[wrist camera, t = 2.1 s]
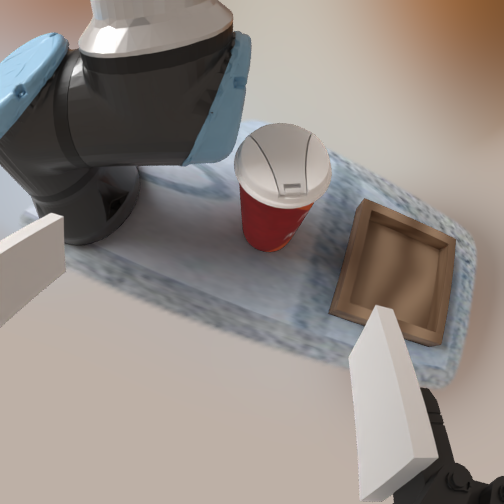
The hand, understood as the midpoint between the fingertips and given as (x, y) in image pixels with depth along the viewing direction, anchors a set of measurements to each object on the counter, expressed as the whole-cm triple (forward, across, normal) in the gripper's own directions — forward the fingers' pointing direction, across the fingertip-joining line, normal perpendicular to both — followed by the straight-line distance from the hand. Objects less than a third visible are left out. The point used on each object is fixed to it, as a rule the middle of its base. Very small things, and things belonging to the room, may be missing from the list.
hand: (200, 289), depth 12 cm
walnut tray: (+26, +19, -8) cm, 33 cm away
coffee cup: (+27, +2, -7) cm, 28 cm away
